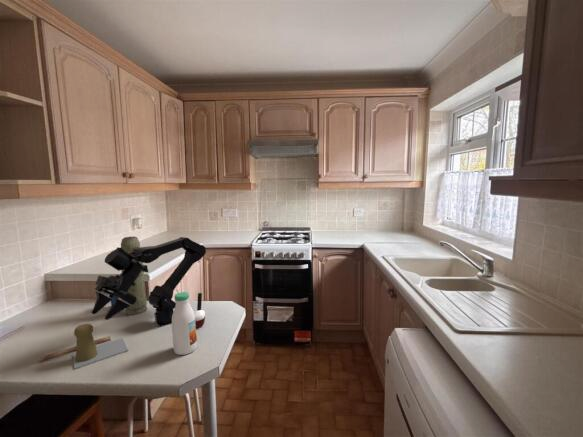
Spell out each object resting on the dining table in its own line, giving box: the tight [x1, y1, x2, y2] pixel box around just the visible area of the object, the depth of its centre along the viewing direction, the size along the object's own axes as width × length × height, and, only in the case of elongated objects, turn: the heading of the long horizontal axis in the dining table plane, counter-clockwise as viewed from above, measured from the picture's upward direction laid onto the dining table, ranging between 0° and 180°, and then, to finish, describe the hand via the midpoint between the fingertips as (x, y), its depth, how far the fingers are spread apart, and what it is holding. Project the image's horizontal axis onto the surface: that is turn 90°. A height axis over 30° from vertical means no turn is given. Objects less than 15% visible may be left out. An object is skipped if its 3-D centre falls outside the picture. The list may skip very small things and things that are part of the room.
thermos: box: [120, 236, 148, 316], centre depth 130 cm, size 9×12×35 cm
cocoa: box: [194, 292, 206, 329], centre depth 115 cm, size 10×6×12 cm, turn 155°
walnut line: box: [39, 335, 112, 363], centre depth 101 cm, size 20×2×1 cm, turn 130°
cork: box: [73, 323, 98, 362], centre depth 95 cm, size 6×6×11 cm
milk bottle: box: [171, 291, 198, 356], centre depth 98 cm, size 8×8×20 cm
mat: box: [72, 337, 129, 370], centre depth 98 cm, size 15×11×1 cm
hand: (99, 316), depth 98 cm, fingers open, 9 cm apart
